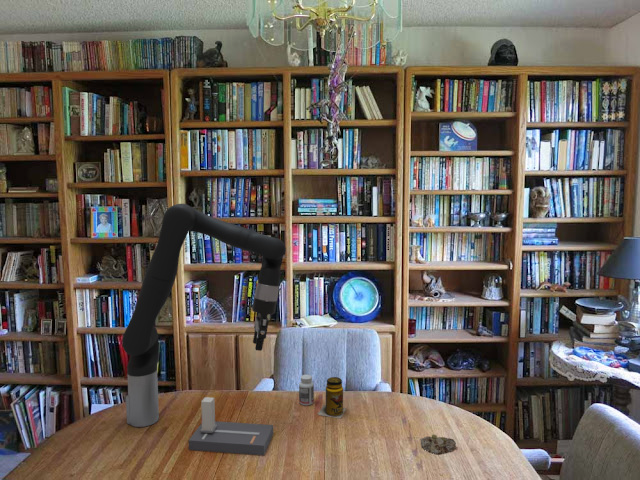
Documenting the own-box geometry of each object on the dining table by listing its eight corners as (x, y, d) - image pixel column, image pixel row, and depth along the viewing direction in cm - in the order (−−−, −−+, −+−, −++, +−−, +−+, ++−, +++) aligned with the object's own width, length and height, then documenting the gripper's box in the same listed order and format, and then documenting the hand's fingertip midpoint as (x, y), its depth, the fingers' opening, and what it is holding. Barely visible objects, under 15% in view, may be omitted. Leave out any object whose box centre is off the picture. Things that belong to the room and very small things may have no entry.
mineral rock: (423, 448, 135) (419, 428, 143) (421, 460, 137) (417, 438, 144) (460, 450, 135) (454, 429, 142) (458, 461, 137) (452, 440, 144)
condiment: (341, 418, 157) (341, 384, 156) (317, 415, 160) (317, 381, 158) (346, 409, 164) (346, 376, 163) (323, 405, 167) (323, 373, 165)
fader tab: (200, 432, 142) (199, 402, 141) (204, 425, 146) (204, 396, 145) (212, 433, 141) (211, 403, 140) (217, 426, 145) (216, 397, 144)
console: (188, 449, 138) (188, 439, 138) (203, 429, 150) (203, 420, 150) (264, 455, 136) (263, 445, 135) (273, 434, 147) (273, 424, 147)
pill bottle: (307, 397, 173) (307, 372, 172) (316, 402, 169) (316, 377, 168) (296, 402, 170) (295, 376, 168) (305, 407, 165) (304, 381, 164)
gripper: (252, 293, 158) (244, 340, 158) (256, 299, 144) (247, 351, 144) (274, 296, 160) (265, 342, 160) (280, 303, 146) (271, 354, 146)
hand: (257, 346), depth 152 cm, fingers open, 8 cm apart
